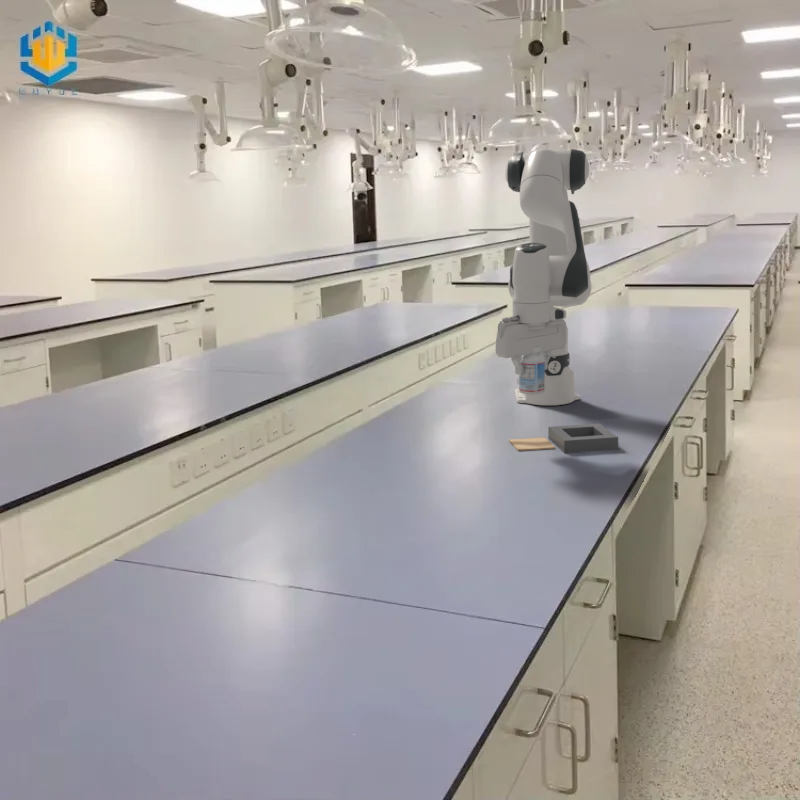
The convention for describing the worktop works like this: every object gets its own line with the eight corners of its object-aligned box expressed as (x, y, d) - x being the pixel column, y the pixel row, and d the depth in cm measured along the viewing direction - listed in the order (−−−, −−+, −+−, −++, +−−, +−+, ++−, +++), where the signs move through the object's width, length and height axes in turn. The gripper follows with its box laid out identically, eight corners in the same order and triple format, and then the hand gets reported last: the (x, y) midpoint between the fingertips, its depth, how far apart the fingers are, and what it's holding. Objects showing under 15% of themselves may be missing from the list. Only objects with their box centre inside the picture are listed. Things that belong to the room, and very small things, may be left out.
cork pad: (509, 441, 212) (509, 439, 212) (544, 438, 213) (544, 437, 213) (518, 451, 203) (518, 449, 203) (555, 448, 204) (555, 447, 204)
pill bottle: (537, 389, 209) (538, 343, 206) (548, 394, 203) (549, 347, 201) (514, 391, 207) (514, 345, 205) (525, 396, 201) (525, 348, 199)
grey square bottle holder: (548, 438, 213) (548, 426, 212) (599, 435, 214) (599, 423, 214) (564, 453, 200) (564, 440, 200) (617, 449, 202) (618, 437, 201)
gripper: (507, 319, 193) (508, 380, 196) (571, 310, 204) (570, 367, 207) (489, 317, 198) (489, 376, 201) (552, 308, 209) (552, 364, 212)
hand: (531, 371), depth 204 cm, fingers closed on pill bottle, 6 cm apart
